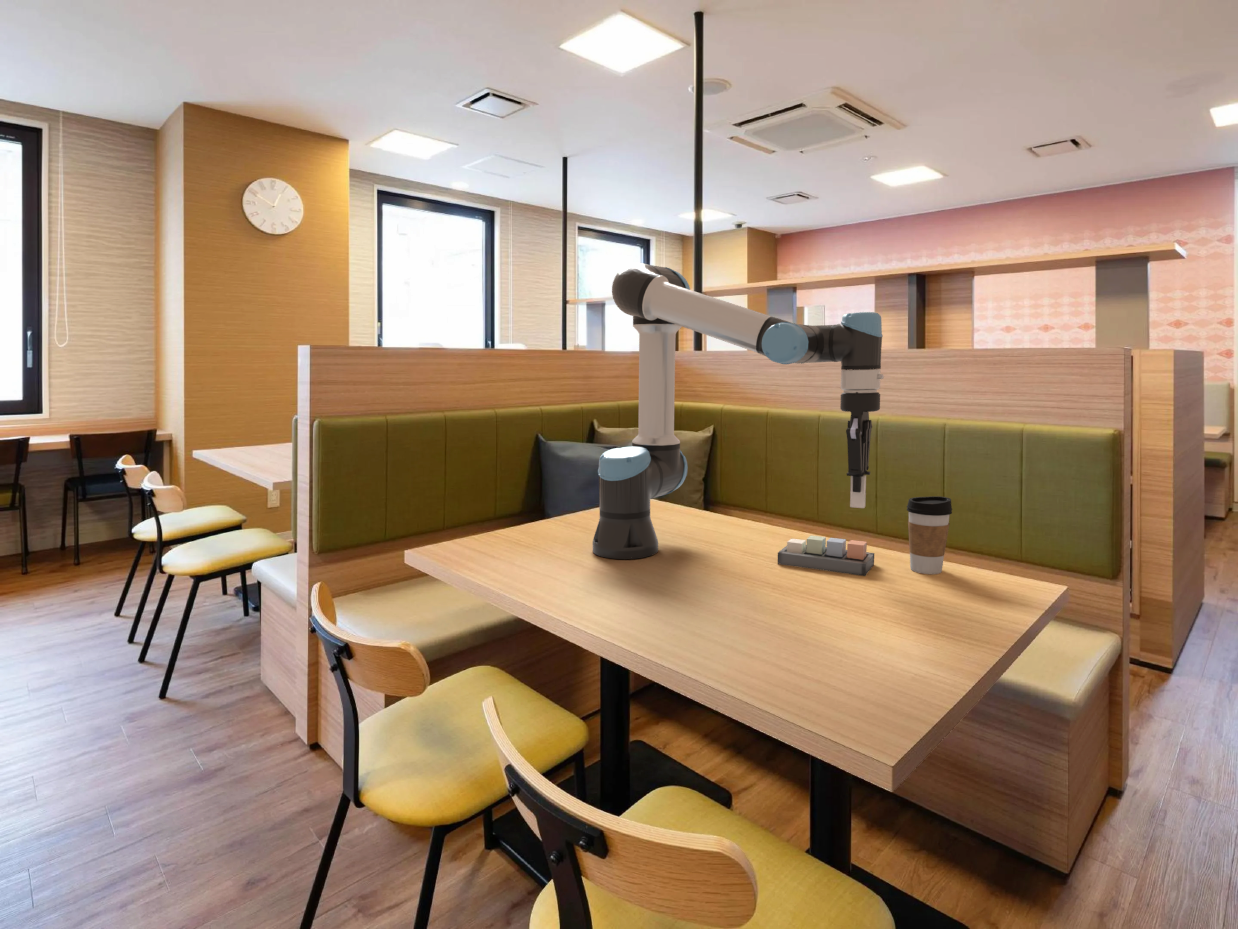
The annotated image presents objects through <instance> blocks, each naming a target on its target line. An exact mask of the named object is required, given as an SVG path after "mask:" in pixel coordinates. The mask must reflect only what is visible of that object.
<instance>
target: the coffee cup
mask: <svg viewBox="0 0 1238 929" xmlns="http://www.w3.org/2000/svg"><path fill="white" fill-rule="evenodd" d="M906 511H908V520H907V525H908V526H907V527H908V543H909V544H908V546H909V563H910V564H909V567H910V570H911V571H912V572H915V573H918V574H922V575H923V574H924V575H938V574H941V573H942V571H943V566H944V558H945V555H946V554H945V553H946V546H947V540H948V534H949V528H950V522H949V521H950V515H951V514H953V508H952V499H951V497H946V496H938V495H936V496H933V495H932V496H917V497H916V496H915V497H911V498H908V502H907V505H906Z"/></svg>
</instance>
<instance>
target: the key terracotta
mask: <svg viewBox="0 0 1238 929" xmlns="http://www.w3.org/2000/svg"><path fill="white" fill-rule="evenodd" d="M867 544H868V542H867V541H863V540H862V541H861V540H853V539H850V540H849V541H848V542H847V543H846V547H847V548H846V550H847V558H853V559H861V560H863V559H864V558H865V557H866V552H867V551H868V550H867V548H868V547H867Z"/></svg>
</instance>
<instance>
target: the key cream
mask: <svg viewBox="0 0 1238 929" xmlns="http://www.w3.org/2000/svg"><path fill="white" fill-rule="evenodd" d="M806 545H807V539H800V538H797V539H796V538H790V539H789V540H787V541H786V546H787V552H791V553H799V554H801V553H803V552H804V551H805V550H806Z"/></svg>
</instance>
